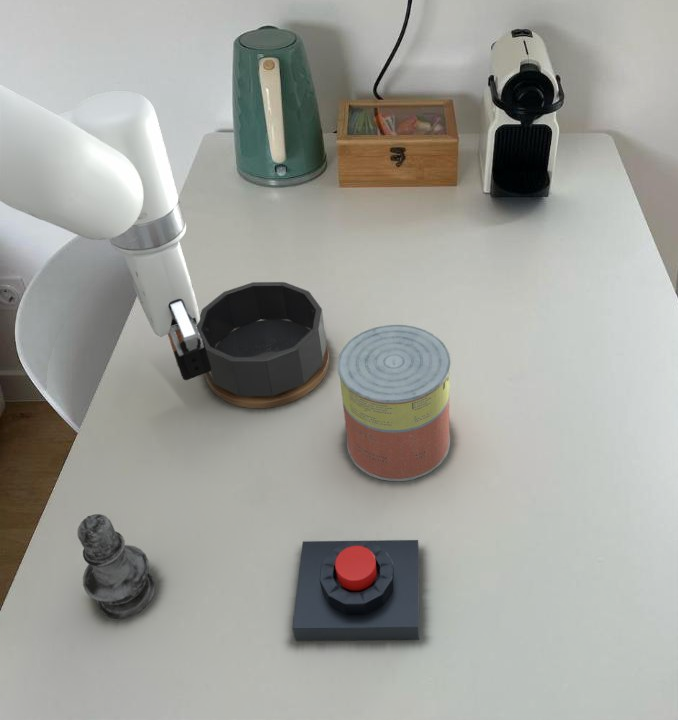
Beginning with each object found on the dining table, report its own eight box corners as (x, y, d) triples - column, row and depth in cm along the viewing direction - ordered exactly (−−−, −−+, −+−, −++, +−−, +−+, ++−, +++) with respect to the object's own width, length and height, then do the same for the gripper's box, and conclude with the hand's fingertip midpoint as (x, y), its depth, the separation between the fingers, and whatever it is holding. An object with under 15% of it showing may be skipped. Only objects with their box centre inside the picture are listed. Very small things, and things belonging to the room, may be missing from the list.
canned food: (471, 447, 88) (473, 367, 80) (386, 499, 83) (380, 419, 75) (409, 390, 95) (405, 310, 87) (327, 434, 90) (316, 355, 82)
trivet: (229, 426, 91) (228, 420, 91) (190, 349, 101) (188, 343, 101) (349, 379, 96) (349, 373, 96) (301, 310, 106) (300, 305, 106)
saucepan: (203, 427, 90) (186, 372, 84) (167, 352, 100) (150, 298, 94) (345, 372, 96) (338, 317, 90) (298, 307, 105) (290, 253, 99)
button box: (295, 641, 72) (289, 617, 69) (305, 554, 79) (300, 530, 76) (419, 639, 72) (418, 616, 69) (418, 553, 78) (417, 528, 76)
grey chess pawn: (170, 575, 77) (137, 498, 69) (135, 629, 73) (96, 554, 65) (118, 559, 79) (80, 481, 71) (81, 611, 75) (36, 534, 67)
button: (335, 591, 71) (333, 580, 70) (338, 556, 74) (336, 545, 73) (376, 591, 71) (374, 580, 70) (377, 556, 74) (376, 545, 73)
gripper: (87, 191, 84) (132, 317, 96) (128, 278, 73) (173, 409, 85) (158, 171, 87) (193, 296, 98) (208, 253, 75) (241, 383, 87)
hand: (184, 348), depth 92 cm, fingers open, 9 cm apart
